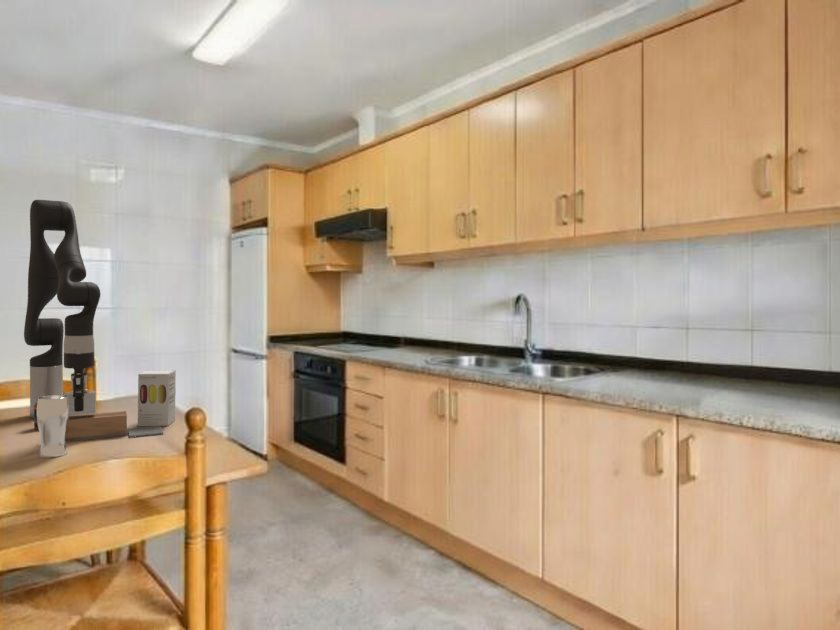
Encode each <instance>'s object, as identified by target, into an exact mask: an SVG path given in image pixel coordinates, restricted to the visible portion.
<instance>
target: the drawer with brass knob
mask: <svg viewBox="0 0 840 630" xmlns="http://www.w3.org/2000/svg"><path fill="white" fill-rule="evenodd" d="M76 393H82V391H79V392H76ZM62 395H68V401H69V415H82V414H95V413H97V411H96V410H97V409H96V407H97V406H96V404H97V402H96V400H97V399H96V397H97V396H96V390H95V389H94V390H89V388H86V389H85V390H84V409H83V411H79V412H75V411H74V398H73V391H67V392H63V394H62Z"/></svg>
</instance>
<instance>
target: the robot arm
mask: <svg viewBox="0 0 840 630" xmlns="http://www.w3.org/2000/svg"><path fill="white" fill-rule="evenodd" d="M29 230H30V231H29V232H30V233H29V234H30V235H29V236H30V238H29V239H30V249H29V261H28V272H27V273H28V274H27V305H26V312H25V321H24V329H23V339H24V343H25V344H26V345H27V346H30V347H39V346H44V347H45V346H50V348H49V349H48V350H46V351H45V352H43V353H41V354H38V355H35V356H32V357H31V358H30V359H29V418H31V419H34V405H35V404H36V403H37V402H38V401H37V398H38V397H42V396H48V395H62V394H63V391H64V386H63V385H64V383H63V381H64V379H63V378H64V377H63V376H64V373H63V371H64V370H63V368H65V369H73V373H71V374H70V380H71V390H72V392H73V398H74V411H75V412H79V411H83V409H84V390H85V389H87V385H88V384H87V380H88V372H86V371H85V369H88V368H92V367H95V339H94V319H95V315H96V311H97V308H98V305H99V302H100V299H101V289H100V287H99V285H98V284H97V283H95V282H92V281H91V282H90V281H84V279H86V277H87V270H86V267H85V266H86V265H85V264H84V263H85V262H84V260H83V257H82V254H81V250H80V242H79V233H78V227H77V221H76V214H75V211H74V208H73V206H72V204H70V203H69V202H67V201H63V200H61V201H60V200H51V199H50V200H48V199H47V200H46V199H34V200H33V201H32V202H31V204H30V208H29ZM45 231H53V232H55V231H57V232H64V236H63V238H62V240H61V241H60V243H59V244H58V246H57V247H56V249H55V251H52V249H51V247H50V246H49V244H48V242H47V241H46V239H45ZM55 297H56V298H57V301H58V302H59V303H60V304H62V305H63V306H65V307H83V308H82V310H81V311H79V312H78V313H74V314H69V315H66V317H65V318H64V323H63V320H62V319H61V318H57V317H56V318H52V317H51V318H50V317H49V318H46V317H45V318H44V317H43V318H42V317H41V318H39V317H40V315H41V314H42V312H43V310H44V308H45V307H46V306H48V304H49V303H50V302H52V300H53V299H54V298H55ZM79 391H82V393H76V392H79Z"/></svg>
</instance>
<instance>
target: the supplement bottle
mask: <svg viewBox="0 0 840 630" xmlns="http://www.w3.org/2000/svg"><path fill="white" fill-rule="evenodd" d="M38 398H39V397H38ZM38 398H37V401H38ZM33 426H34V427H33V428H34V429H35V430H39V429H38V424H37V403H36V404H35V405H34V418H33Z"/></svg>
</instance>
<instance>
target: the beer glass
mask: <svg viewBox="0 0 840 630" xmlns="http://www.w3.org/2000/svg"><path fill="white" fill-rule="evenodd" d="M68 421H69V401H68V395H48V396H42V397H39V398H38V402H37V424H38V429H37V430H38V431H39V432H38V433H39V436H40V437H39V439H40V449H39V454H38V457H39V458H42V459H52V458H51V457H53V458H58V457H62V456H65V455H67V454H68V448H67V442H66V441H65V439H66V432H67V427H68Z"/></svg>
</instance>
